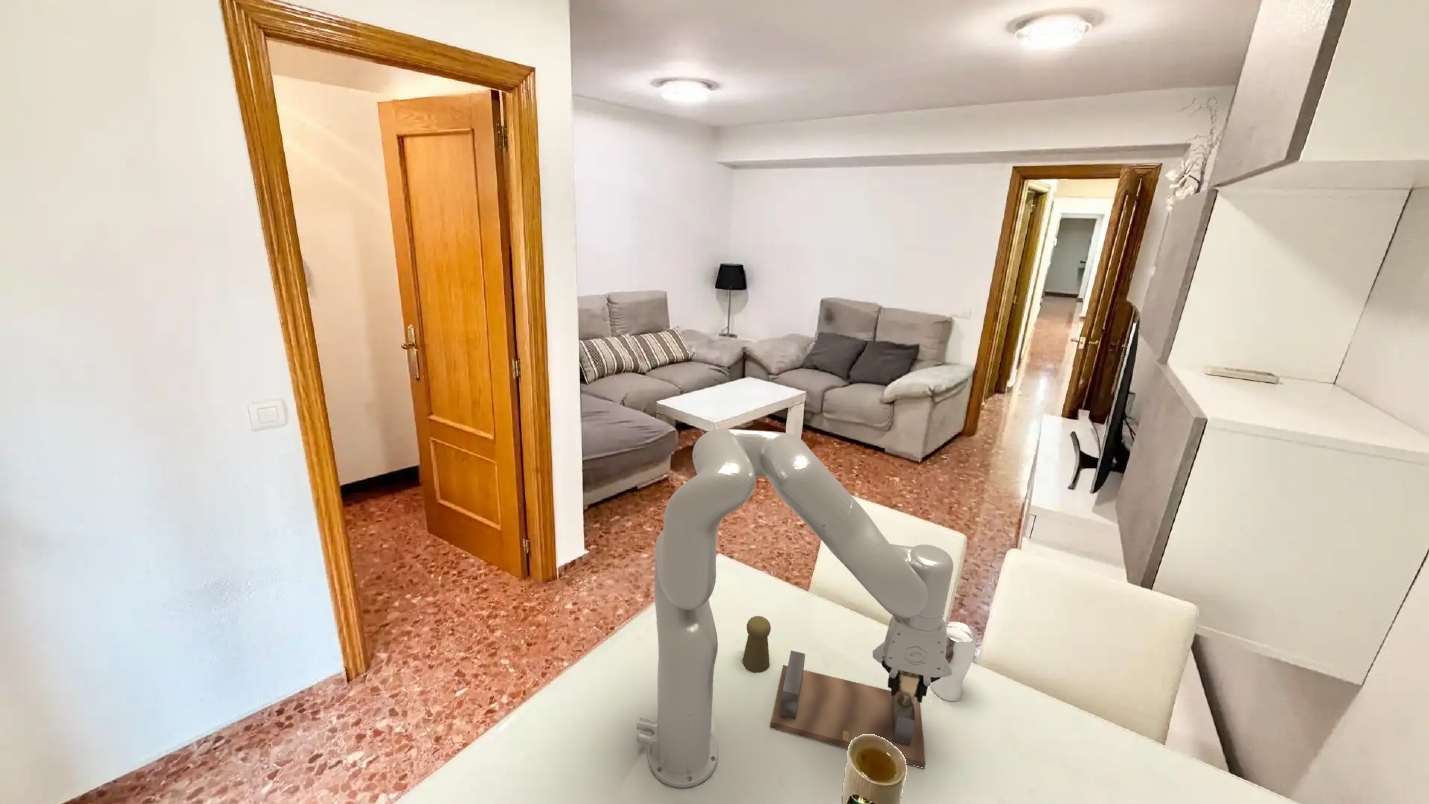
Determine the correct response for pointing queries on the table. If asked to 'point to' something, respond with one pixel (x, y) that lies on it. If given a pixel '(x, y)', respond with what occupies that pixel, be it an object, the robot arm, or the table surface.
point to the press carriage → (904, 706)
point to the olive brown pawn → (757, 645)
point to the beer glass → (956, 660)
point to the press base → (838, 710)
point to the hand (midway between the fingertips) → (905, 692)
